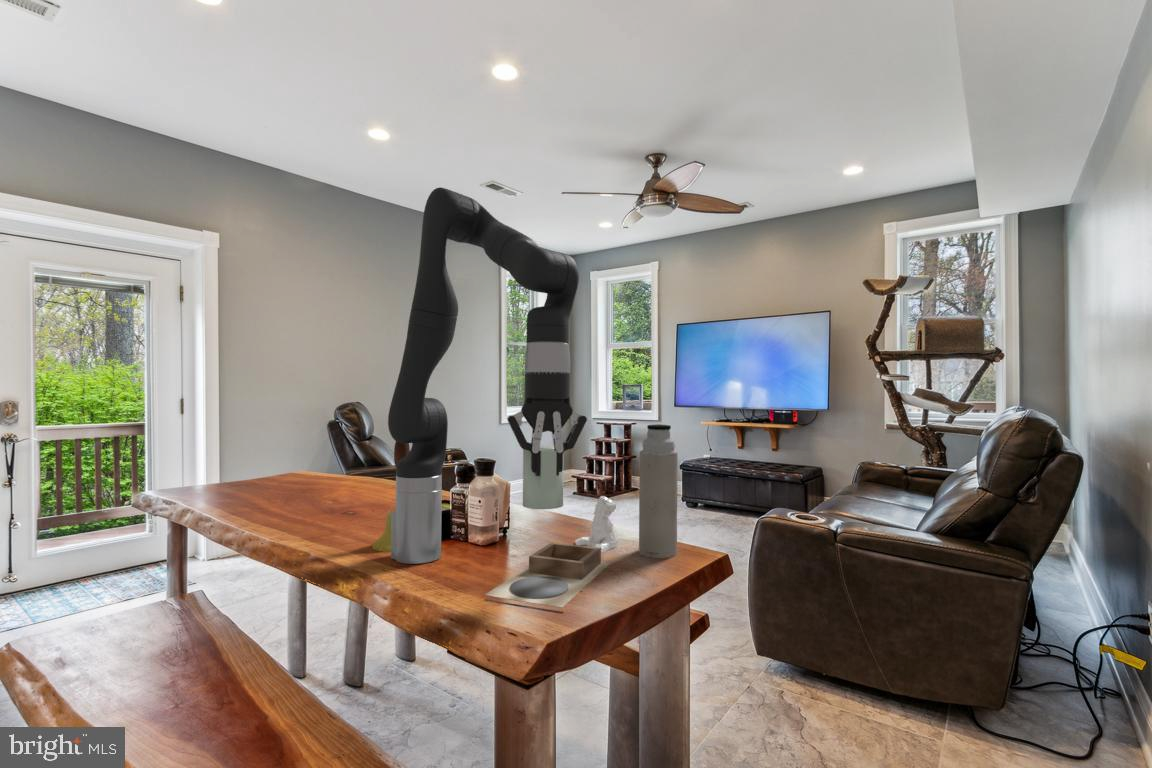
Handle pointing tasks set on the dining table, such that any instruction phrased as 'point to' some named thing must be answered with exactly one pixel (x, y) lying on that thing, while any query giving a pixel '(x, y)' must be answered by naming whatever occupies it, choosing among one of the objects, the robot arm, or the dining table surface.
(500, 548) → the dining table surface
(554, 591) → the jug stand
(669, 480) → the thermos bottle
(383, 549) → the handbell
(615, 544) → the seated beast figurine
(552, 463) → the sage jug
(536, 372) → the robot arm
